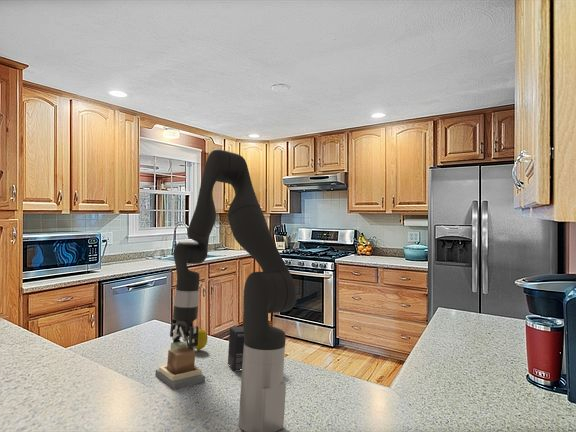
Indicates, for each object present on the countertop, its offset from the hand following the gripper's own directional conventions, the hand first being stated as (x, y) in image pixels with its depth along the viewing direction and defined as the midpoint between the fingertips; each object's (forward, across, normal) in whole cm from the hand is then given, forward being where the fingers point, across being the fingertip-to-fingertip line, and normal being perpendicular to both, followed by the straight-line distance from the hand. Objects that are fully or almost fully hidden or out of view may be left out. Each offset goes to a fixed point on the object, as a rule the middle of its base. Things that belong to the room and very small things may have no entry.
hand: (181, 355), depth 112 cm
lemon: (+3, +8, -10) cm, 13 cm away
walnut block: (+1, -11, +6) cm, 13 cm away
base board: (+2, -11, +6) cm, 13 cm away
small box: (+2, -14, -16) cm, 22 cm away
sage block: (+2, 0, 0) cm, 2 cm away
